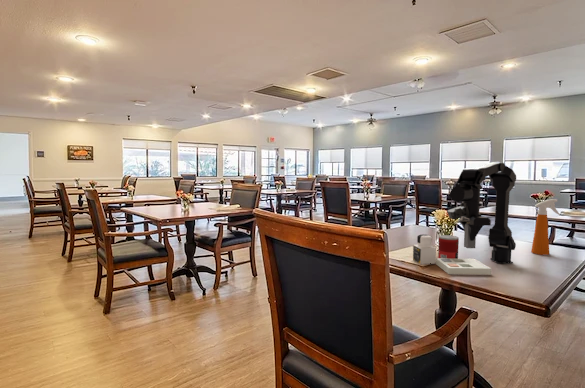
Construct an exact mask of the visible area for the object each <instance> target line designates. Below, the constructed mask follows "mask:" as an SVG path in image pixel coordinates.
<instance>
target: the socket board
mask: <svg viewBox="0 0 585 388" xmlns="http://www.w3.org/2000/svg"><path fill="white" fill-rule="evenodd" d="M435 265H436V266H438V267H439V268H440V269H441V270H443V271H444V272H445V273H446V274H447V275H464V276H465V275H471V276H472V275H473V276H474V275H476V276H477V275H480V276H492V267H489V266H488V265H485V264H484V263H483V262H481V261H479V260H478V259H475V258H458V259H453V258H437V257H436V264H435Z"/></svg>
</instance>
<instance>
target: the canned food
mask: <svg viewBox="0 0 585 388" xmlns="http://www.w3.org/2000/svg"><path fill="white" fill-rule="evenodd" d="M459 241H460V240H459V237H458V236H457V235H451V234H440V235H438V256H437V257H438V258H453V259H459V247H460V246H459Z"/></svg>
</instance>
